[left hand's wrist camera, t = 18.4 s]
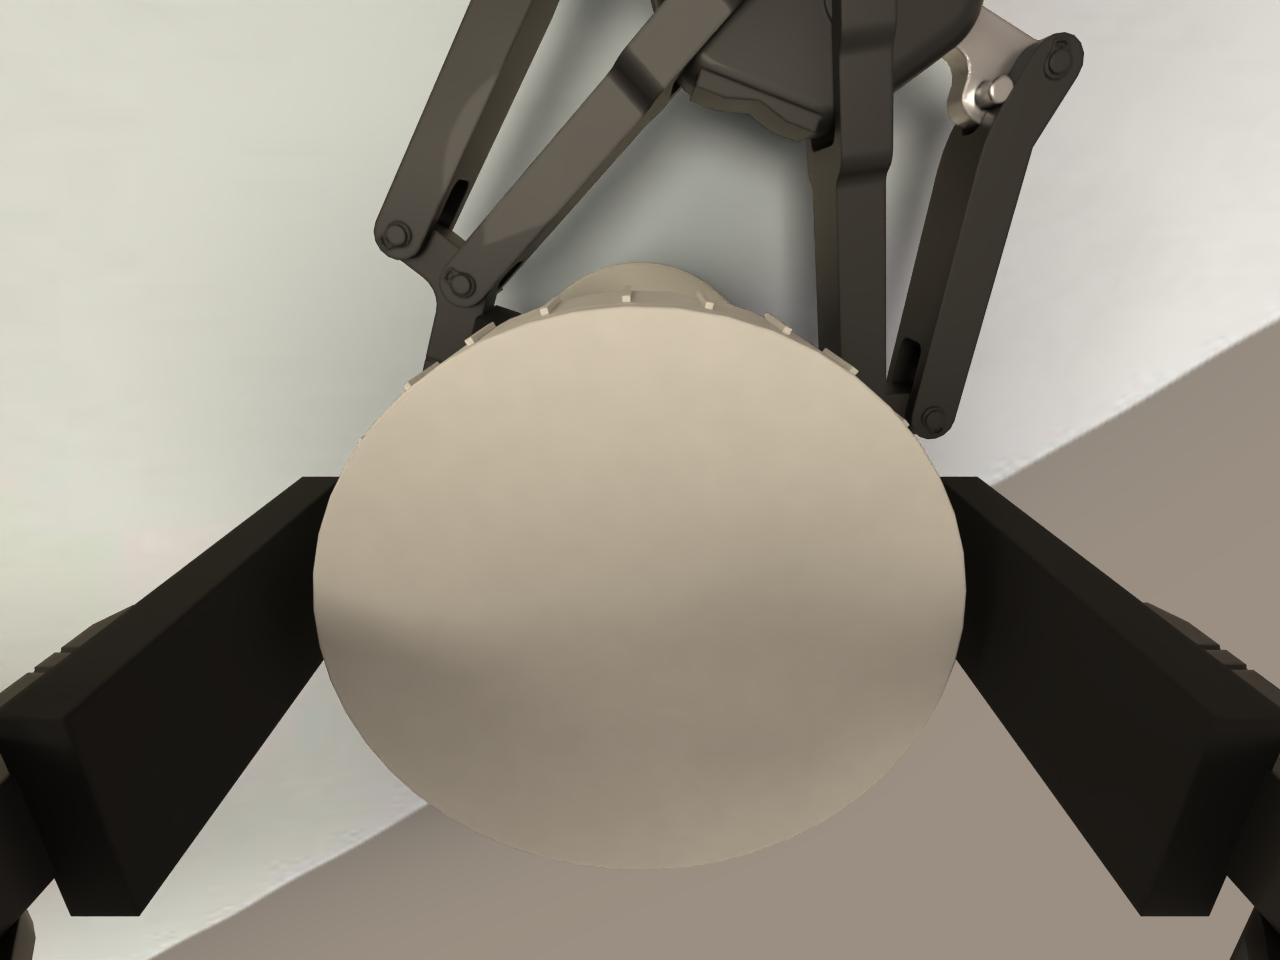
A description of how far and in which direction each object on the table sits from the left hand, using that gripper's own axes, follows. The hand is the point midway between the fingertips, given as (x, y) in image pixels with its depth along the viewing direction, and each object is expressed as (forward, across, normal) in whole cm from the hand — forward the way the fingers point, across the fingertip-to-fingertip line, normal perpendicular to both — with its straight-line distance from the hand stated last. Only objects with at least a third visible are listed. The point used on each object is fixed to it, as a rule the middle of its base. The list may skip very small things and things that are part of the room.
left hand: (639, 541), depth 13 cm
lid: (-3, 0, 0) cm, 3 cm away
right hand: (+7, -2, -4) cm, 9 cm away
